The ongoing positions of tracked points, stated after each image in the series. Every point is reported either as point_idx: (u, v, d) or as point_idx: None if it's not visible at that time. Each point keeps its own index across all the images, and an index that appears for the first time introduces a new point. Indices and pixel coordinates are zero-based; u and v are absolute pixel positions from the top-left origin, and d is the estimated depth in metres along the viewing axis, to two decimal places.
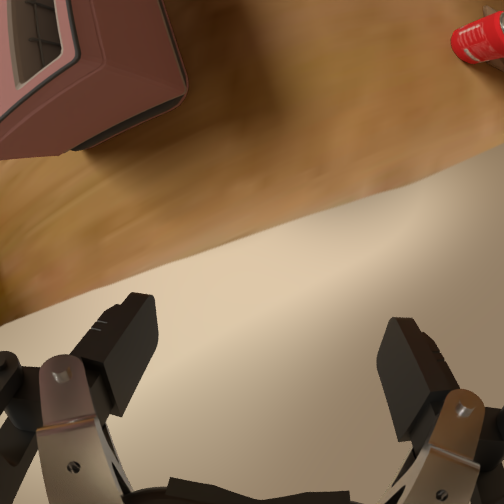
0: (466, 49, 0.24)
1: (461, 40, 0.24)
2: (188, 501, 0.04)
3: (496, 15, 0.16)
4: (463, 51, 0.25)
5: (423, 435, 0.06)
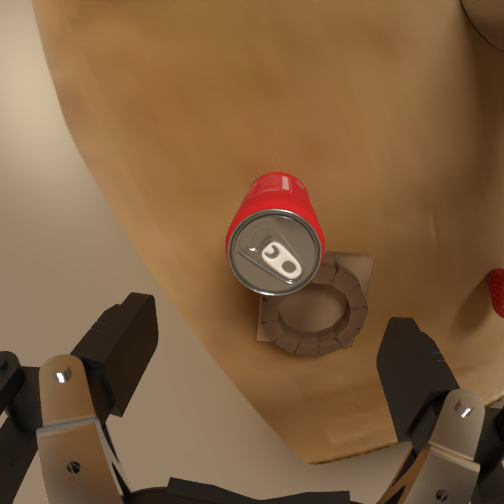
0: (253, 185, 0.23)
1: (270, 177, 0.22)
2: (188, 501, 0.04)
3: (299, 209, 0.15)
4: (254, 183, 0.23)
5: (423, 435, 0.06)
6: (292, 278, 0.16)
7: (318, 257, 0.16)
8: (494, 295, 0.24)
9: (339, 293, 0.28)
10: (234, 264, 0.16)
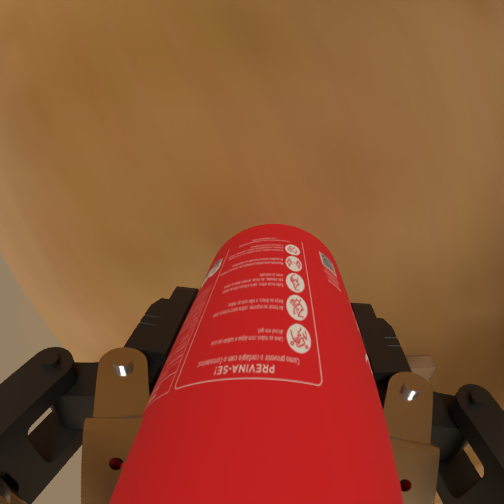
0: (216, 268, 0.09)
1: (255, 249, 0.09)
2: None
3: None
4: (220, 257, 0.10)
5: None
6: None
7: None
8: None
9: None
10: None
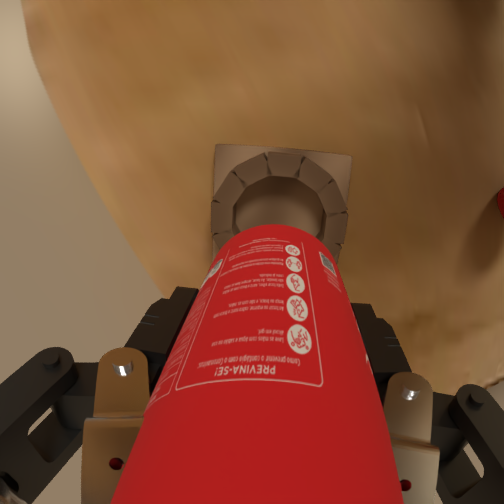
0: (216, 268, 0.09)
1: (256, 249, 0.09)
2: None
3: None
4: (221, 257, 0.10)
5: None
6: None
7: None
8: None
9: (312, 200, 0.23)
10: None
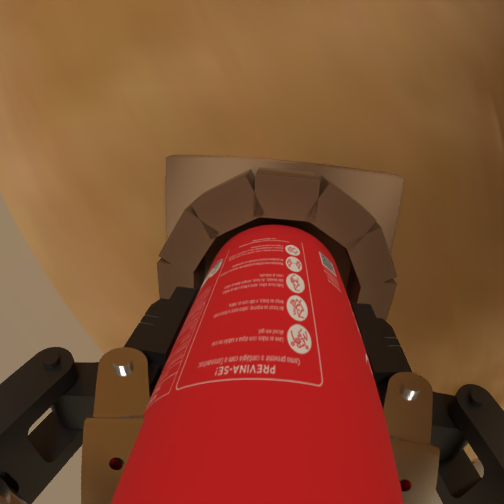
0: (216, 268, 0.10)
1: (256, 249, 0.09)
2: None
3: None
4: (221, 257, 0.10)
5: None
6: None
7: None
8: None
9: (333, 253, 0.13)
10: None
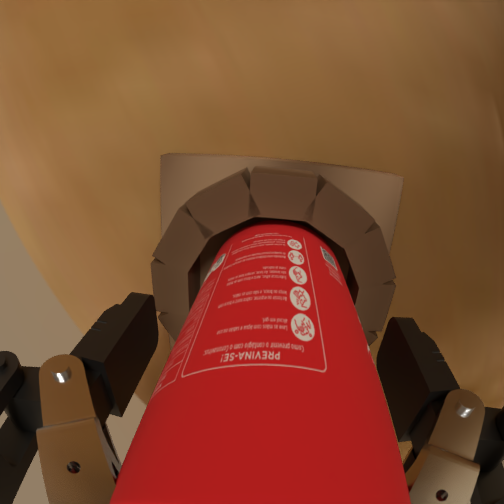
0: (219, 262, 0.10)
1: (258, 243, 0.09)
2: None
3: None
4: (223, 252, 0.10)
5: (423, 435, 0.06)
6: None
7: None
8: None
9: None
10: None
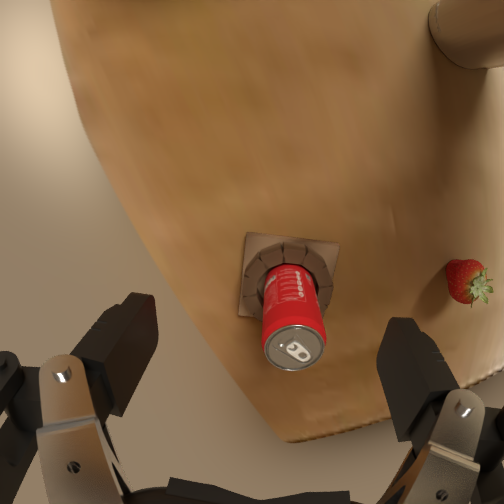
0: (273, 278, 0.30)
1: (286, 272, 0.30)
2: (188, 501, 0.04)
3: (312, 322, 0.23)
4: (273, 274, 0.31)
5: (423, 435, 0.06)
6: (304, 361, 0.24)
7: (321, 350, 0.23)
8: (450, 281, 0.30)
9: None
10: (267, 353, 0.24)
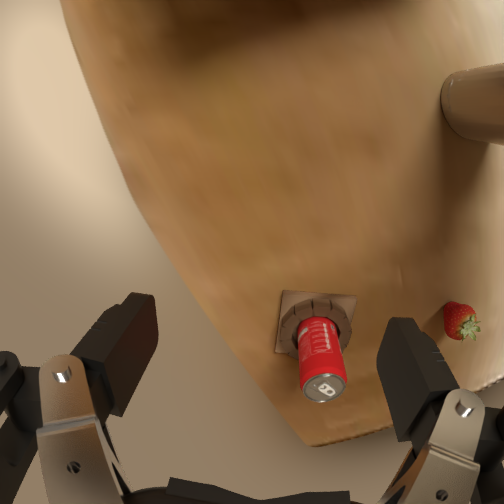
0: (306, 329, 0.38)
1: (316, 325, 0.38)
2: (188, 501, 0.04)
3: (337, 370, 0.31)
4: (305, 325, 0.39)
5: (423, 435, 0.06)
6: (331, 395, 0.31)
7: (343, 388, 0.31)
8: (445, 322, 0.37)
9: (333, 321, 0.41)
10: (304, 391, 0.31)
